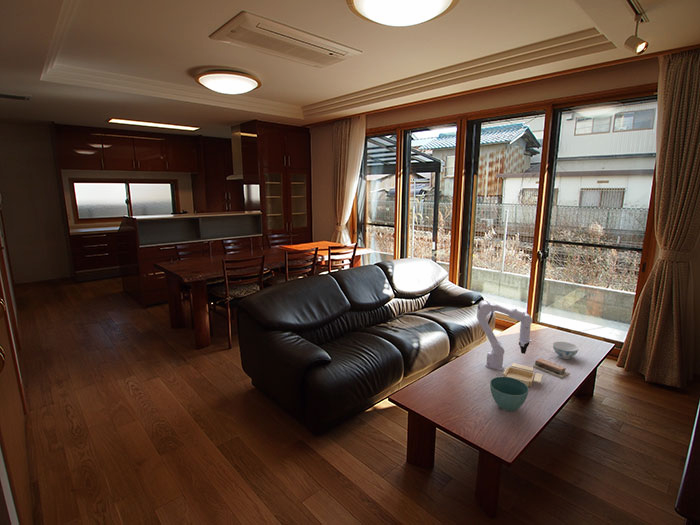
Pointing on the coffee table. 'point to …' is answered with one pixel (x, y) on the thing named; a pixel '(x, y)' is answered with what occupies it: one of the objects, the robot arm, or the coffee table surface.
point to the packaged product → (551, 368)
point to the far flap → (538, 378)
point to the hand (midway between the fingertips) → (523, 353)
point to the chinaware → (565, 349)
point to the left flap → (522, 367)
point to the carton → (520, 375)
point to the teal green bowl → (508, 392)
